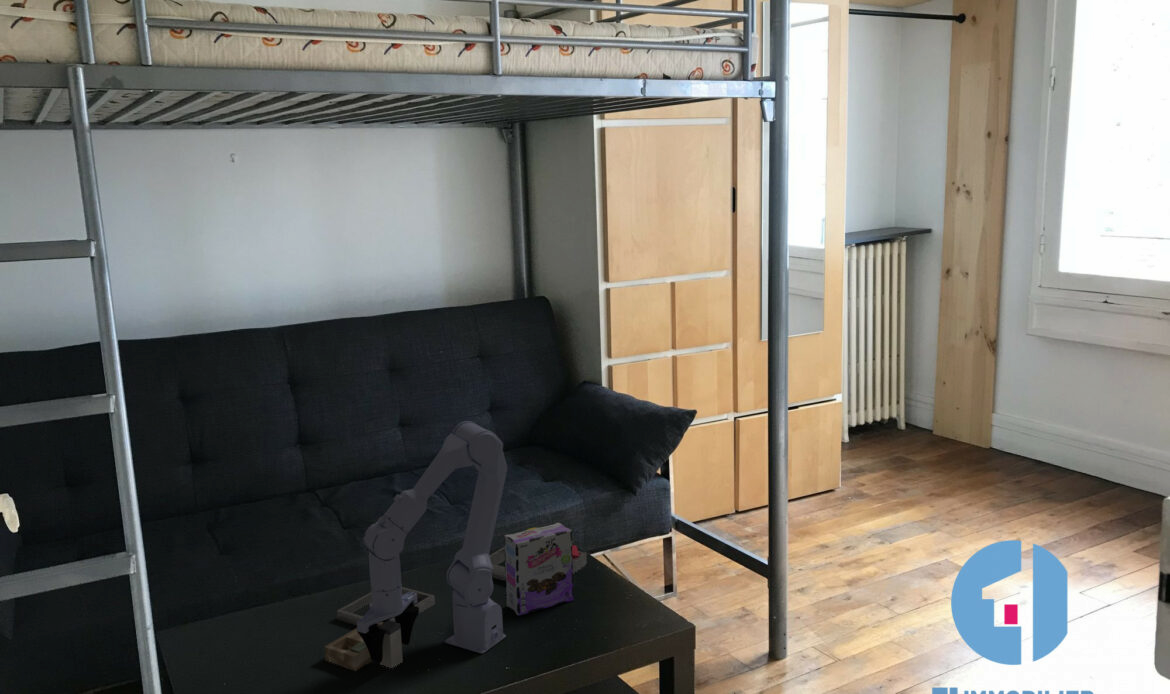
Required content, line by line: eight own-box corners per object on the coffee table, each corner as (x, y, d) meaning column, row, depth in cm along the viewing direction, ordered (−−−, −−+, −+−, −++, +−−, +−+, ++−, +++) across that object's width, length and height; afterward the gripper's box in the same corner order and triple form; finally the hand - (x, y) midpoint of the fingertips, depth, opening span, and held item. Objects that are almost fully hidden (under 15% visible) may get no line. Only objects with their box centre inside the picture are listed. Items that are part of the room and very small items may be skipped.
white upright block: (402, 662, 184) (400, 623, 182) (392, 669, 181) (389, 630, 180) (391, 658, 185) (388, 620, 184) (380, 665, 183) (377, 626, 181)
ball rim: (586, 564, 226) (586, 552, 226) (548, 591, 213) (547, 579, 212) (519, 549, 237) (518, 538, 236) (478, 574, 223) (477, 562, 222)
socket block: (402, 641, 192) (401, 626, 191) (355, 671, 181) (354, 655, 180) (372, 632, 196) (371, 617, 195) (325, 661, 185) (324, 645, 184)
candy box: (518, 617, 201) (515, 543, 198) (505, 606, 206) (502, 534, 203) (574, 600, 208) (572, 529, 205) (561, 591, 213) (559, 521, 210)
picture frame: (434, 604, 208) (434, 595, 208) (385, 634, 195) (384, 625, 194) (388, 591, 215) (387, 582, 214) (337, 619, 202) (336, 610, 201)
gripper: (396, 567, 188) (400, 631, 191) (342, 596, 176) (348, 663, 179) (423, 574, 185) (427, 639, 187) (371, 604, 173) (376, 673, 175)
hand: (390, 651), depth 183 cm, fingers open, 7 cm apart
